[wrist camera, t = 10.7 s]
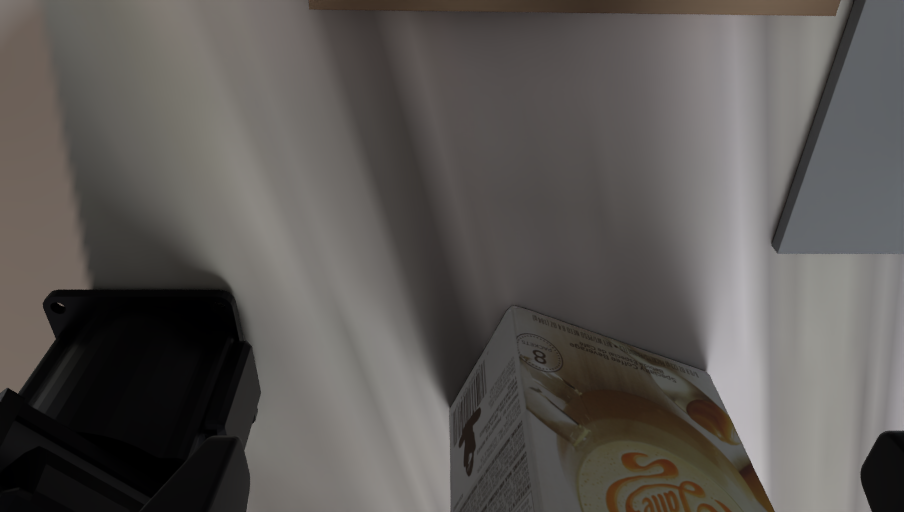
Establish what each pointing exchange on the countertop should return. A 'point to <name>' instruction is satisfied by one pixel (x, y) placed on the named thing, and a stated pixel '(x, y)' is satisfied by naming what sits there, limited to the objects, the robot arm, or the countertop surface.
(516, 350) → the coffee box
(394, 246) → the countertop surface
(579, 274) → the countertop surface
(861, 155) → the charcoal mat
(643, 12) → the walnut stand
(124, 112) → the countertop surface
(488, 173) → the countertop surface
